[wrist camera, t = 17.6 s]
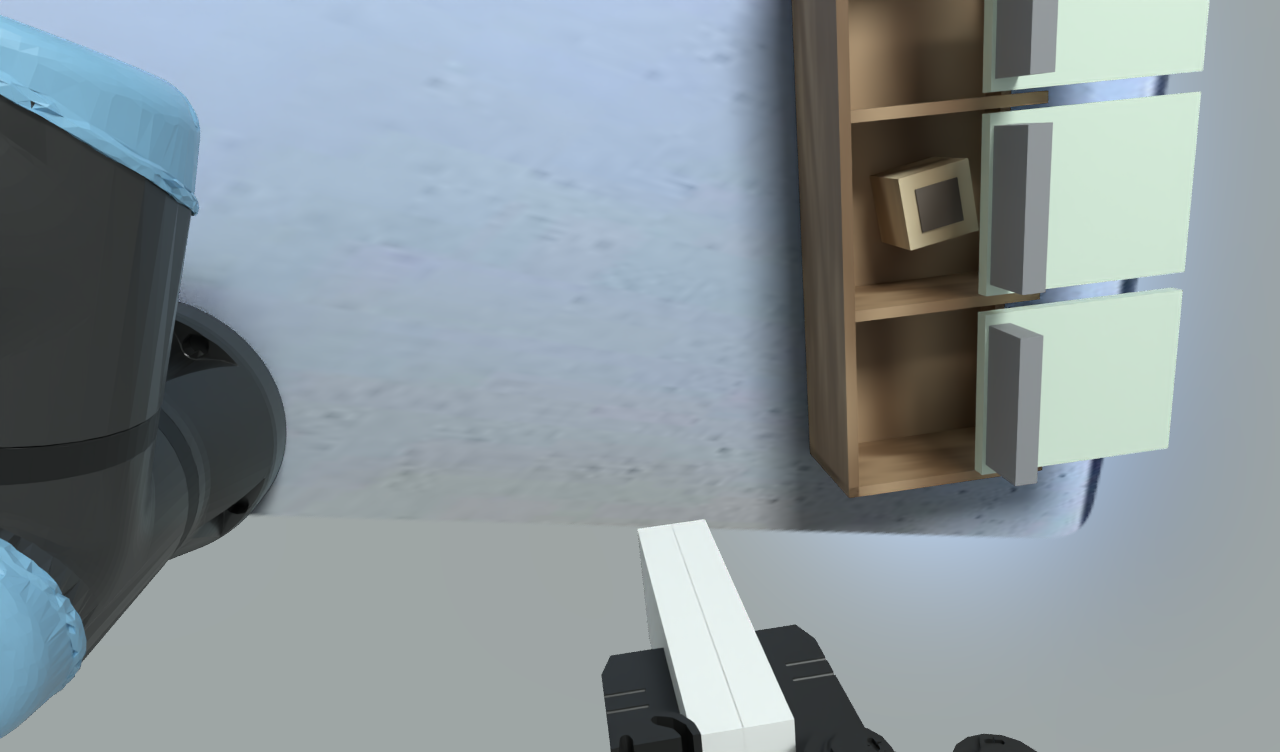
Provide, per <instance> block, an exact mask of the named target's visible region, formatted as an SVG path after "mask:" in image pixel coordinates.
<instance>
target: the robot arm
mask: <svg viewBox="0 0 1280 752" xmlns="http://www.w3.org/2000/svg"><path fill="white" fill-rule="evenodd" d="M199 143H200V127H199V121H198V118H197V115H196V113H195V111H194V109H193V108H192V106H191V104H190V103H189V101H188V99H187V98H186V97H185V96H184V95H183V94H182V93H181V92H180V91H179V90H178V89H177V88H175V87H174V86H173V85H172V84H170V83H169V82H167V81H165V80H164V79H161V78H159V77H157V76H155V75H153V74H150V73H148V72H146V71H144V70H141V69H139V68H137V67H134V66H132V65H129V64H127V63H124V62H122V61H119V60H117V59H114V58H112V57H109V56H107V55H104V54H102V53H99V52H97V51H94V50H92V49H89V48H87V47H84V46H81V45H79V44H76V43H74V42H71V41H68V40H66V39H63V38H61V37H58V36H55V35H53V34H50V33H47V32H45V31H42V30H39V29H37V28H34V27H31V26H29V25H26V24H23V23H21V22H18V21H15V20H13V19H10V18H7V17H4V16H2V15H0V738H2V737H3V736H5V735H7V734H8V733H10V732H11V731H12V730H14V729H15V728H17V727H18V726H19V725H20V724H21V723H23V722H24V721H25V720H26V719H27V718H28V717H29V716H30V715H32V714H33V713H34V712H35V711H36V710H37V709H38V708H39V707H41V706H42V705H43V704H44V703H45V702H46V701H47V700H48V699H49V698H50V697H52V696H53V695H54V694H56V693H57V692H59V691H60V690H62V689H63V688H64V687H65V685H66V684H67V683H68V682H69V681H71V679H72V678H73V677H75V673H76V672H77V671H78V670H79V669H80V667H81V663H82V661H83V660H84V659H85V658H86V657H87V655H88V654H89V653H90V652H91V651H92V650H93V648H94V647H95V646H96V645H97V644H98V643H99V641H100V640H101V639H102V638H103V637H104V635H105V634H106V633H107V632H108V631H109V630H110V628H111V627H112V626H113V625H114V624H115V622H116V621H117V620H118V619H119V618H120V617H121V615H122V614H123V613H124V612H125V611H126V609H127V608H128V607H129V606H130V605H131V604H132V602H133V601H134V600H135V599H136V598H137V597H138V595H139V594H140V593H141V592H142V591H143V589H144V588H145V587H146V586H147V585H148V584H149V582H150V581H151V580H152V579H153V577H154V576H155V575H156V574H157V573H158V572H159V570H160V569H161V568H162V567H163V566H164V565H165V563H166V562H167V561H168V560H170V559H172V558H175V557H177V556H180V555H183V554H185V553H188V552H190V551H193V550H196V549H198V548H201V547H203V546H205V545H208V544H210V543H212V542H214V541H215V540H217V539H219V538H220V537H222V536H224V535H225V534H227V533H228V532H230V531H231V530H232V529H233V528H235V527H236V526H237V525H239V524H240V523H241V522H242V521H243V520H244V519H245V518H246V517H247V516H248V515H249V514H250V513H251V512H252V511H253V509H254V508H255V507H256V505H257V504H258V503H259V501H260V500H261V499H262V498H263V496H264V495H265V494H266V492H267V491H268V489H269V488H270V486H271V485H272V483H273V481H274V479H275V477H276V475H277V473H278V471H279V468H280V465H281V462H282V459H283V455H284V450H285V443H286V420H285V413H284V408H283V404H282V400H281V397H280V394H279V391H278V388H277V386H276V384H275V382H274V379H273V378H272V376H271V374H270V372H269V370H268V369H267V367H266V366H265V364H264V362H263V361H262V360H261V358H260V357H259V356H258V354H257V353H256V352H255V351H254V350H253V349H252V347H251V346H250V345H249V344H248V343H247V342H246V341H245V340H244V339H243V338H242V337H240V336H239V335H238V334H237V333H236V332H235V331H233V330H232V329H231V328H229V327H228V326H227V325H225V324H224V323H222V322H221V321H219V320H218V319H216V318H214V317H213V316H211V315H209V314H207V313H205V312H203V311H201V310H199V309H197V308H194V307H192V306H190V305H187V304H184V303H181V302H178V298H179V291H180V284H181V278H182V271H183V264H184V258H185V251H186V245H187V238H188V231H189V225H190V218H191V215H192V216H196V215H197V214H198V210H199V205H198V201H197V199H196V197H195V196H194V192H195V182H196V172H197V162H198V153H199ZM638 539H639V548H640V557H641V567H642V576H643V585H644V595H645V603H646V613H647V622H648V632H649V639H650V643H651V647H652V649H651V650H644V651H638V652H631V653H625V654H619V655H612V656H610V658H609V660H608V662H607V664H606V666H605V669H604V671H603V673H602V682H603V691H604V699H605V707H606V714H607V723H608V731H609V738H610V747H611V752H894V751H893V749H892V747H891V746H890V745H889V744H888V743H887V742H886V740H884V738H883V737H882V736H880V735H878V734H877V733H875V732H873V731H871V730H869V729H868V728H865V727H864V725H863V724H862V722H861V720H860V718H859V717H858V715H857V713H856V711H855V709H854V708H853V706H852V704H851V702H850V700H849V699H848V697H847V695H846V693H845V691H844V690H843V688H842V686H841V685H840V683H839V681H838V679H837V677H836V675H834V673H833V670H832V668H831V666H830V665H829V663H828V661H827V660H826V659H825V656H824V654H823V652H822V650H821V649H820V647H819V645H818V643H817V641H816V640H815V639H814V638H813V637H812V636H810V635H809V634H808V633H806V632H805V631H804V630H802V629H801V628H799V627H798V626H797V625H790V626H783V627H777V628H771V629H764V630H758V631H754V628H753V626H752V624H751V622H750V619H749V617H748V615H747V613H746V611H745V608H744V606H743V604H742V601H741V599H740V597H739V595H738V592H737V590H736V588H735V586H734V584H733V581H732V579H731V577H730V575H729V572H728V570H727V568H726V566H725V563H724V561H723V559H722V557H721V554H720V552H719V550H718V548H717V546H716V543H715V541H714V539H713V537H712V534H711V532H710V530H709V528H708V525H707V523H706V521H705V519H703V520H696V521H689V522H683V523H676V524H669V525H662V526H655V527H648V528H641V529H638ZM953 752H1037V751H1035V750H1033V749H1032V748H1030V747H1029V746H1027V745H1025V744H1024V743H1022V742H1021V741H1018V740H1015V739H1012V738H1009V737H1006V736H1002V735H992V734H980V735H975V736H971V737H967V738H966V739H964V740H962V741H961V742H960V743H958V744H957V745H956V746H955V748H954V750H953Z"/></svg>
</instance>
